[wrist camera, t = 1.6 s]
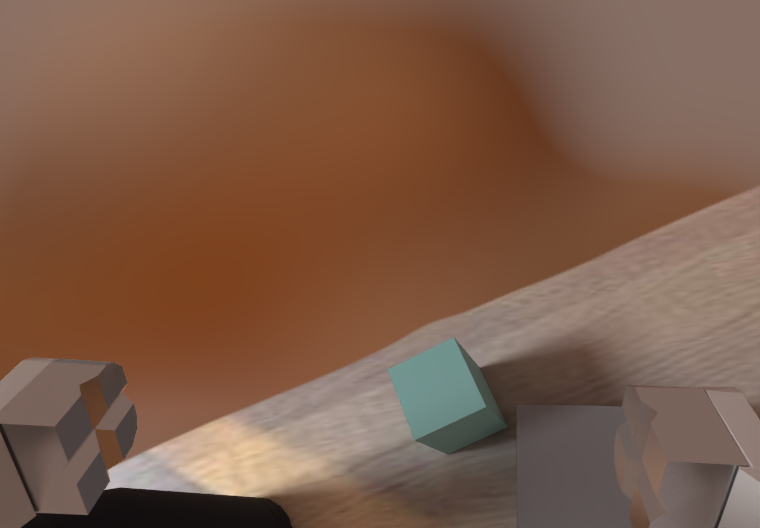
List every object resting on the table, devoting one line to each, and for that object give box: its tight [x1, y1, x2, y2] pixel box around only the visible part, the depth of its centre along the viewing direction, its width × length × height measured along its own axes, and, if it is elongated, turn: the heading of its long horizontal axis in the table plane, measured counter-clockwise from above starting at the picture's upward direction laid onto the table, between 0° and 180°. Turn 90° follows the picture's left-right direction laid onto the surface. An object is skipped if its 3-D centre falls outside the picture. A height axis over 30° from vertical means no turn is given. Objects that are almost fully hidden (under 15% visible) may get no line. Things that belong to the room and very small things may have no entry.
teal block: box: [388, 337, 507, 454], centre depth 38 cm, size 4×4×8 cm
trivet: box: [516, 404, 633, 528], centre depth 34 cm, size 12×12×3 cm
